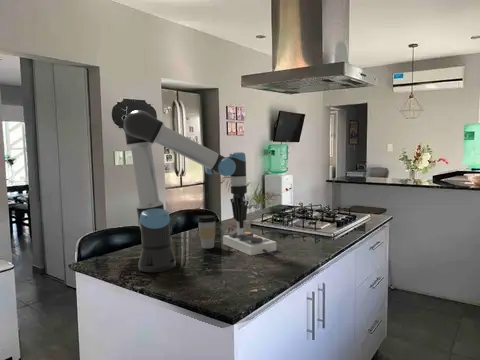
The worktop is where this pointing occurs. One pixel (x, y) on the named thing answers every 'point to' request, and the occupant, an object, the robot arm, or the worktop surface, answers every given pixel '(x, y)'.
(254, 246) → the power strip
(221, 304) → the worktop surface
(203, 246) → the coffee cup
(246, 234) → the rocker
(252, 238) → the rocker
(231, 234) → the rocker
